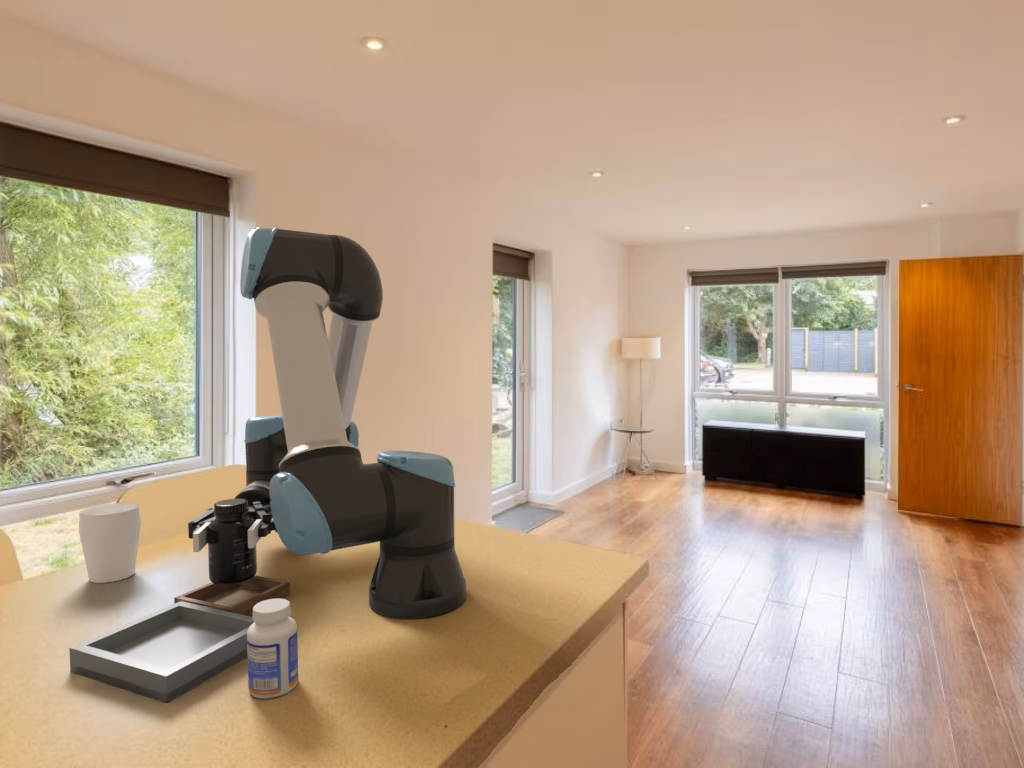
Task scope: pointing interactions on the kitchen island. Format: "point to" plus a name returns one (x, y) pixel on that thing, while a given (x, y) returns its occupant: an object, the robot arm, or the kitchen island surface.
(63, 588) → the kitchen island surface
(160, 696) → the tray
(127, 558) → the cup
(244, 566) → the supplement bottle
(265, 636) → the pill bottle
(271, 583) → the bottle holder
